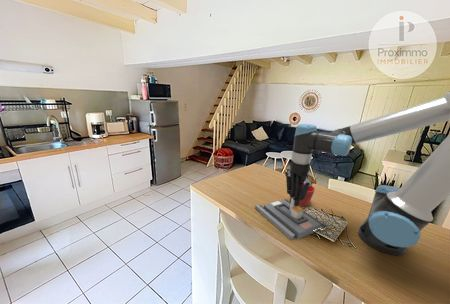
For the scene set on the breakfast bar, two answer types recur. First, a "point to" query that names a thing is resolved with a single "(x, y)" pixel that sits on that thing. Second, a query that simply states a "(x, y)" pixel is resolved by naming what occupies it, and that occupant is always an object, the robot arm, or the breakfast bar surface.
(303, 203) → the flower pot
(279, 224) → the grey long bar
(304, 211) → the long gray bar
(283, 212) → the breaker panel
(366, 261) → the breakfast bar surface
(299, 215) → the lever
